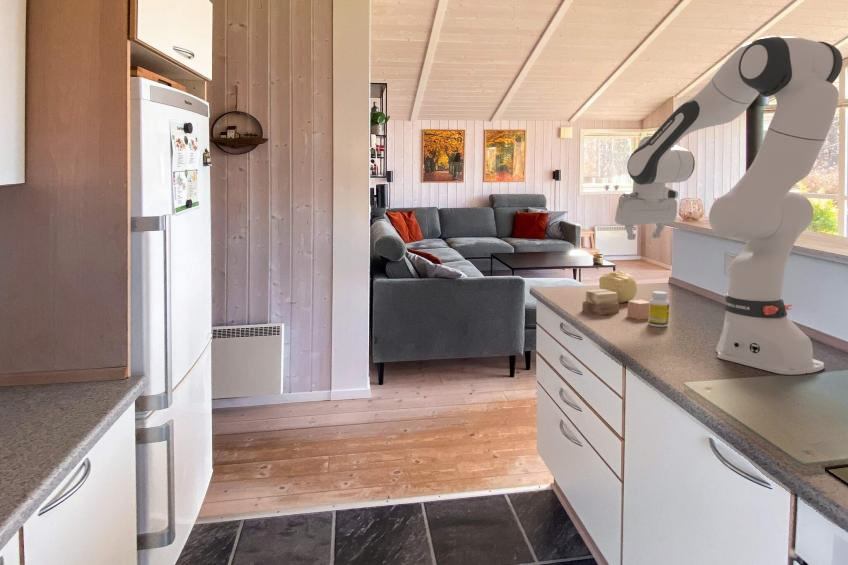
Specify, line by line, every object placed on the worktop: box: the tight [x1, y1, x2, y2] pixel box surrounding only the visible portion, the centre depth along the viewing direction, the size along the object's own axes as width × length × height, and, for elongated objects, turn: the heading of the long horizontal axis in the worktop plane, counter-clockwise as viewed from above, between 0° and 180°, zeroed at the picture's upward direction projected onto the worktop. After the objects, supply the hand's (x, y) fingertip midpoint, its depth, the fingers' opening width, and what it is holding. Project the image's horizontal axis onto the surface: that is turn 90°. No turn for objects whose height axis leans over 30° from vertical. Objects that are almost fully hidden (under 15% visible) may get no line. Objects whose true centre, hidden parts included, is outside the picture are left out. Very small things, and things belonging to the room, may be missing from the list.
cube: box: [626, 299, 650, 320], centre depth 177 cm, size 5×5×5 cm
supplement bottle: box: [647, 290, 670, 328], centre depth 166 cm, size 5×5×10 cm
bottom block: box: [581, 300, 620, 316], centre depth 185 cm, size 8×8×4 cm
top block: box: [585, 289, 617, 305], centre depth 184 cm, size 7×7×4 cm
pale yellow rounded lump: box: [598, 270, 638, 304], centre depth 200 cm, size 11×12×11 cm
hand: (643, 238), depth 172 cm, fingers open, 8 cm apart
